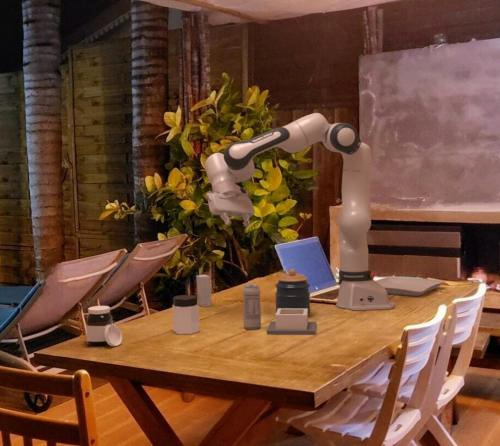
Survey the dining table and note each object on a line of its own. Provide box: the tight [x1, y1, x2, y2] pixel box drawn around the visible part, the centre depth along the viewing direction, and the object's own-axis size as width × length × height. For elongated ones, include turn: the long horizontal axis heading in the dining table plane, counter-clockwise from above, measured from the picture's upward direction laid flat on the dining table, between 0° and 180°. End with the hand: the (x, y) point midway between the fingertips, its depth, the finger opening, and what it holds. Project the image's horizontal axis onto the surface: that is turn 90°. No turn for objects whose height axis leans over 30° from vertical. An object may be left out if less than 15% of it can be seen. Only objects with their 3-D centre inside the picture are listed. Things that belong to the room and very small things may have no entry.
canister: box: [274, 268, 311, 318], centre depth 263 cm, size 13×13×18 cm
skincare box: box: [195, 274, 212, 308], centre depth 287 cm, size 6×4×12 cm
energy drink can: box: [242, 283, 262, 331], centre depth 246 cm, size 6×6×15 cm
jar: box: [172, 294, 200, 335], centre depth 243 cm, size 9×8×12 cm
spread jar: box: [86, 305, 123, 348], centre depth 229 cm, size 12×11×12 cm
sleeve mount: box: [266, 308, 317, 336], centre depth 243 cm, size 16×14×6 cm
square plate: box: [375, 276, 445, 297], centre depth 310 cm, size 27×27×4 cm
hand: (238, 225), depth 259 cm, fingers open, 8 cm apart
